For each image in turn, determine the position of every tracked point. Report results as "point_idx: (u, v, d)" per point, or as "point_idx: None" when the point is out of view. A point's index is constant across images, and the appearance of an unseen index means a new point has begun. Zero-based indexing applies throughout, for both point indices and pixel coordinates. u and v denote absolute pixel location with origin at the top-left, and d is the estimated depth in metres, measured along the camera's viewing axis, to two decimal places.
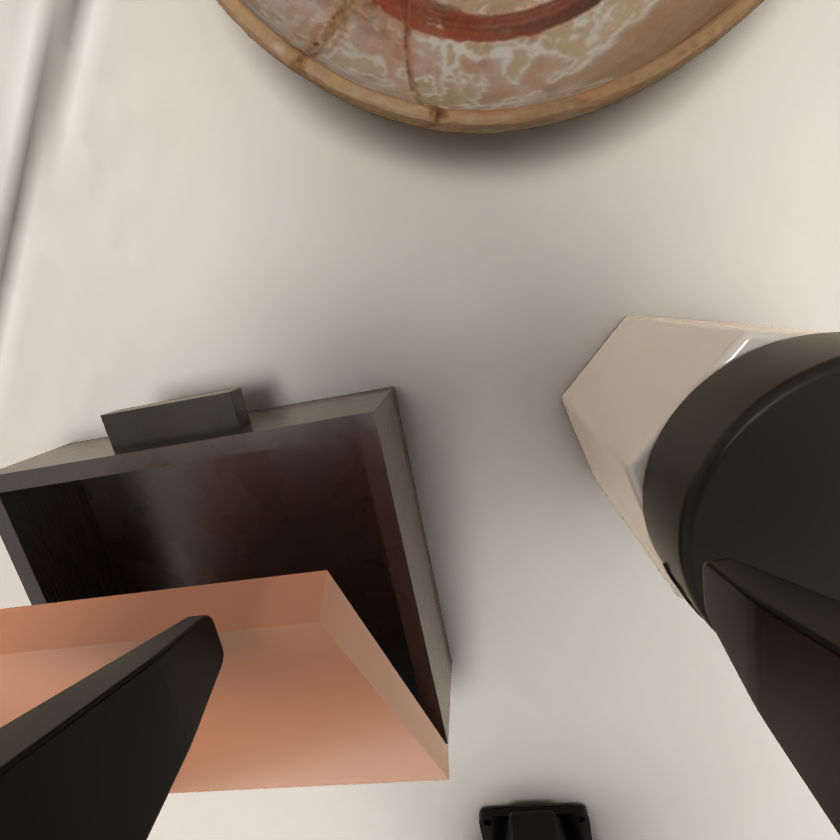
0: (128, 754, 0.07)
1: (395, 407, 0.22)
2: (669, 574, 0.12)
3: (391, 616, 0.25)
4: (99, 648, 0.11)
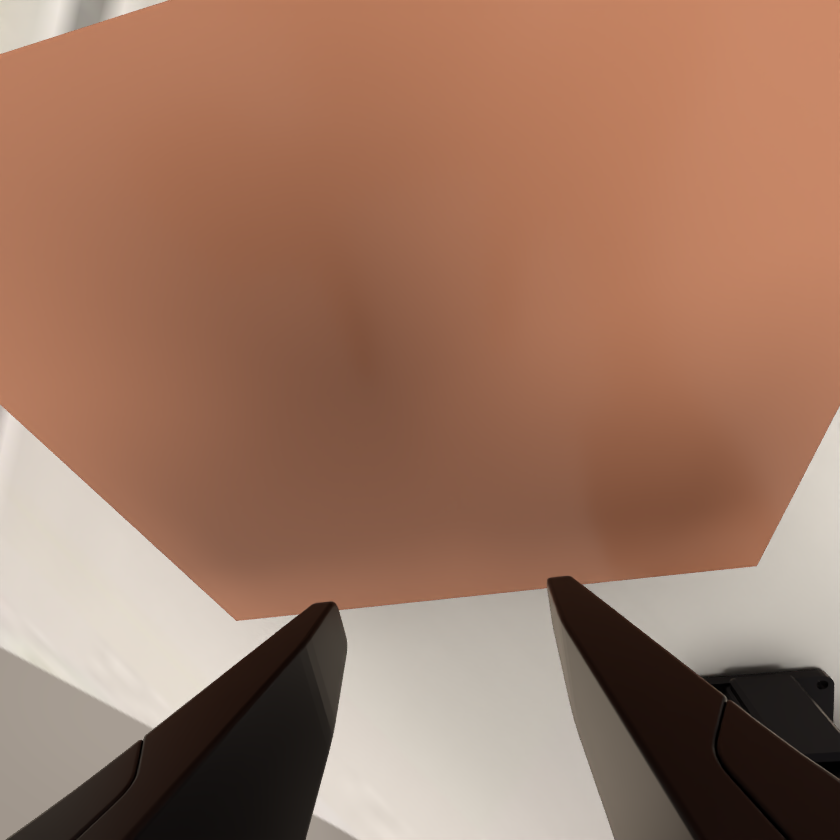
0: (290, 744, 0.06)
1: None
2: None
3: None
4: None
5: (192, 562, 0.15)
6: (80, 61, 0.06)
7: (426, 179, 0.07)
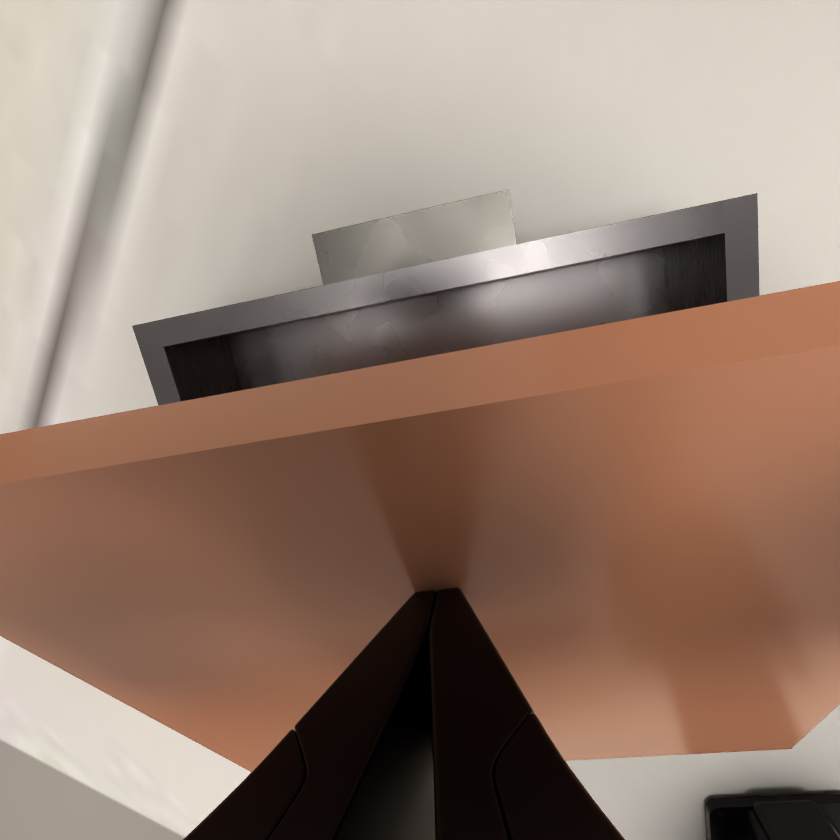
0: (425, 735, 0.06)
1: None
2: None
3: None
4: (681, 386, 0.05)
5: (220, 744, 0.14)
6: (151, 475, 0.06)
7: (486, 539, 0.07)
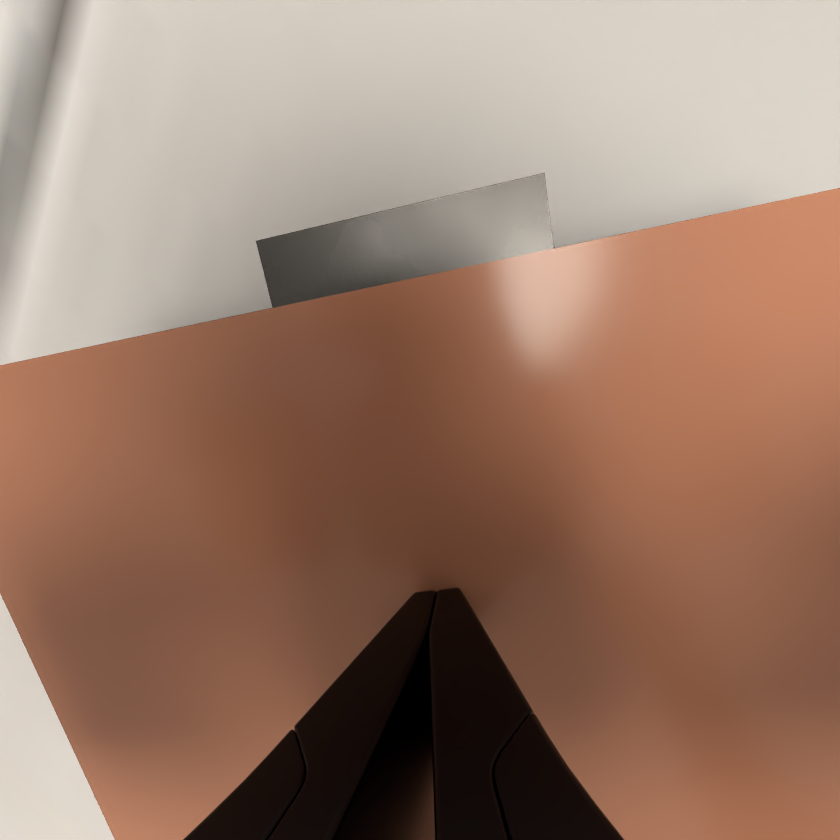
0: (424, 735, 0.06)
1: None
2: None
3: None
4: (628, 249, 0.07)
5: None
6: (202, 341, 0.08)
7: (481, 440, 0.07)
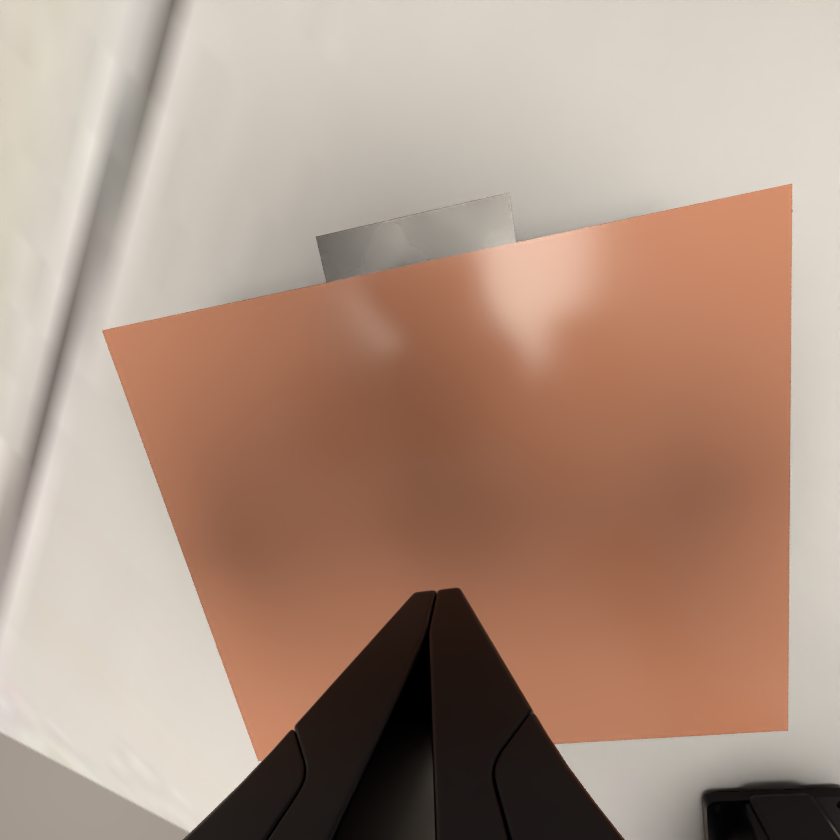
0: (424, 735, 0.06)
1: None
2: None
3: None
4: (550, 244, 0.11)
5: (241, 670, 0.16)
6: (297, 300, 0.12)
7: (467, 360, 0.12)
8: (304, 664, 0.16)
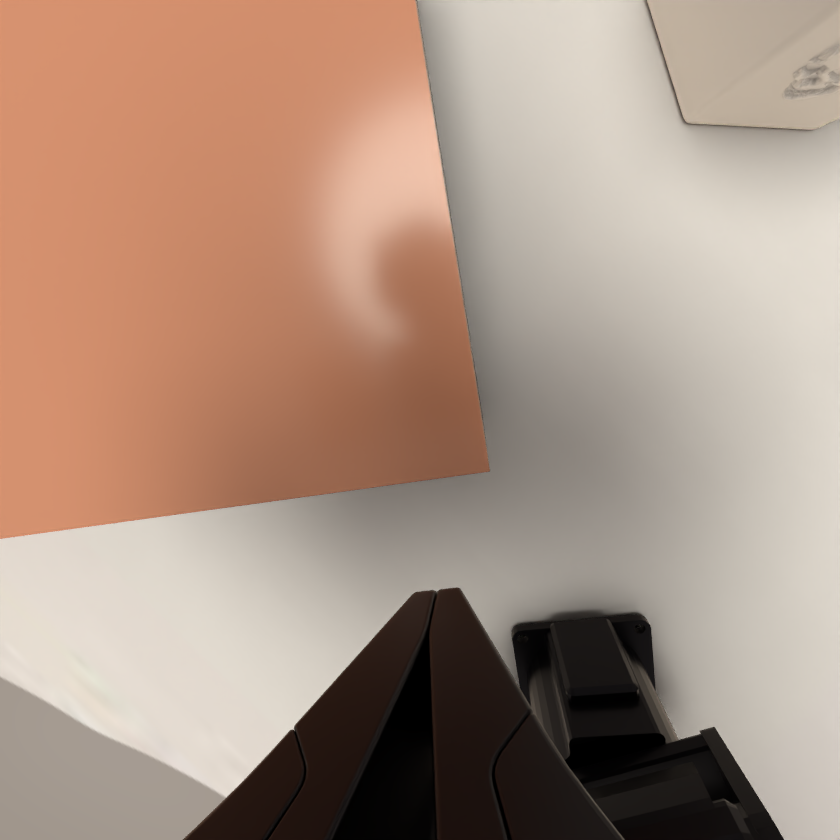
0: (424, 735, 0.06)
1: (418, 12, 0.16)
2: None
3: None
4: None
5: None
6: None
7: (111, 45, 0.12)
8: (22, 421, 0.16)
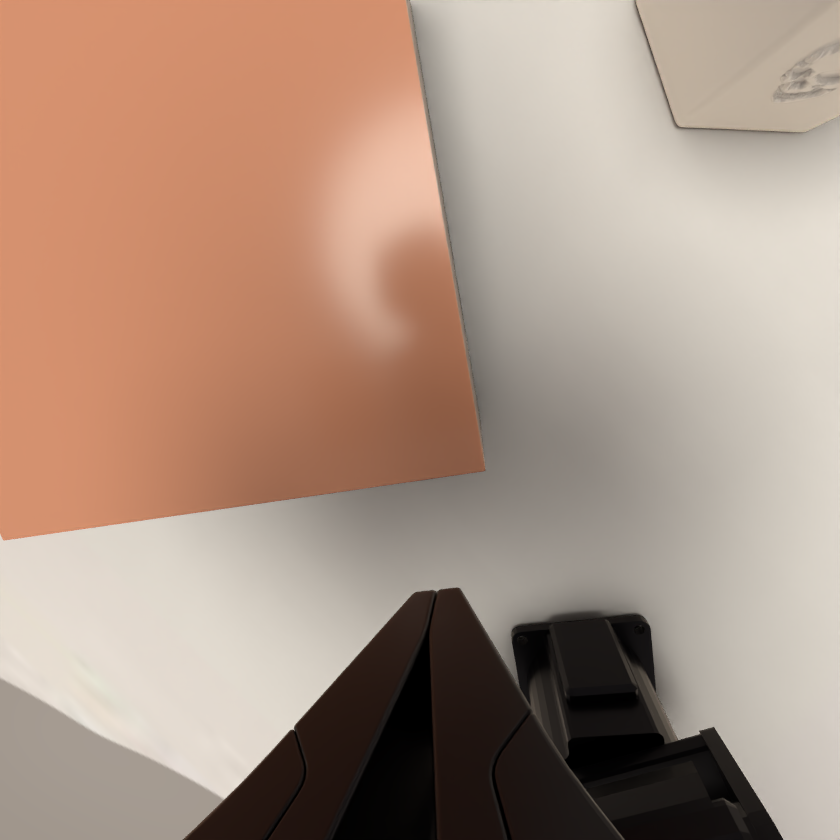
0: (424, 735, 0.06)
1: (413, 21, 0.17)
2: None
3: None
4: None
5: None
6: None
7: (113, 57, 0.12)
8: (26, 424, 0.16)
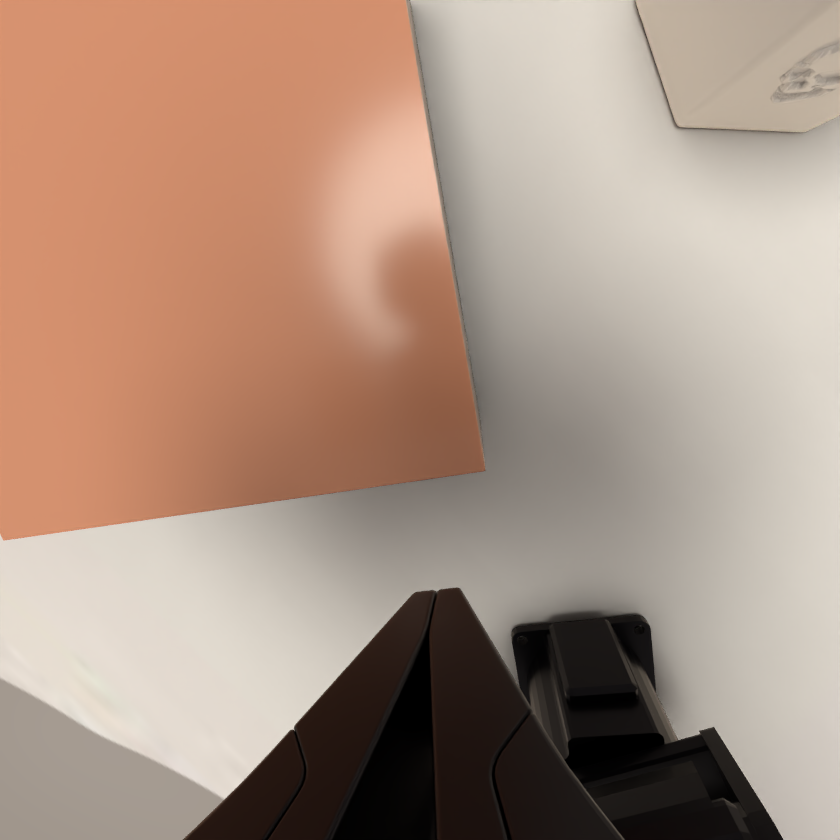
0: (424, 735, 0.06)
1: (413, 21, 0.17)
2: None
3: None
4: None
5: None
6: None
7: (113, 57, 0.12)
8: (26, 424, 0.16)
